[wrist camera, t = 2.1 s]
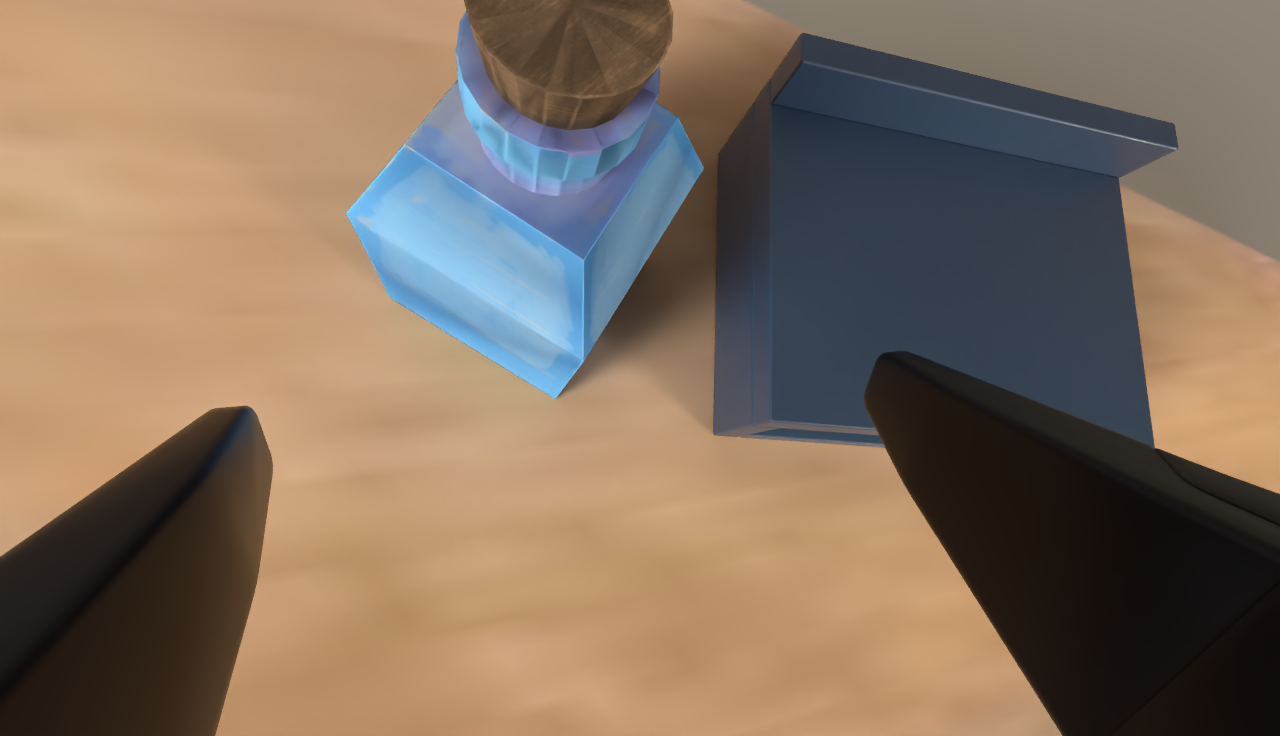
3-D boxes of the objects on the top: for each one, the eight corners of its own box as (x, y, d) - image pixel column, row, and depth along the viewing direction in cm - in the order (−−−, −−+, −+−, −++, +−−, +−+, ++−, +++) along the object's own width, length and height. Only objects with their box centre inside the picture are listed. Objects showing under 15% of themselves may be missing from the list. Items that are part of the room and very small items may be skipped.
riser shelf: (1037, 458, 24) (1228, 448, 18) (712, 435, 21) (806, 413, 15) (1014, 208, 26) (1175, 122, 20) (718, 152, 23) (801, 30, 17)
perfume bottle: (555, 398, 20) (646, 278, 8) (390, 297, 19) (243, 15, 8) (644, 255, 22) (821, -7, 10) (497, 158, 21) (507, -240, 9)
